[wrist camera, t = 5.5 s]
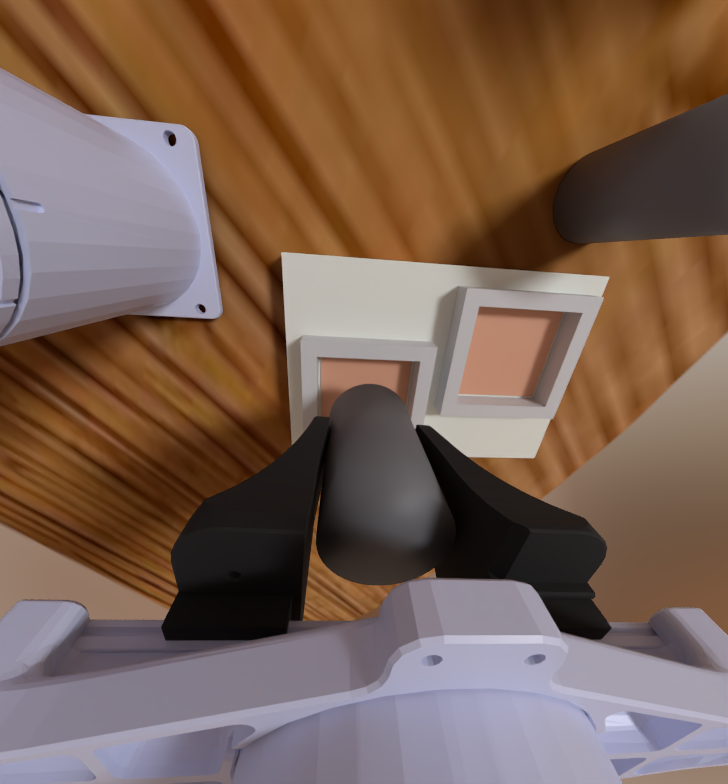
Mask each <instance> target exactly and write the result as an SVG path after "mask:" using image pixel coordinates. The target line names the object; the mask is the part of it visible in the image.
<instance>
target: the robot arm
mask: <svg viewBox="0 0 728 784" xmlns="http://www.w3.org/2000/svg"><path fill="white" fill-rule="evenodd" d="M171 134H175V137H176V144H175V146H170V144H169V141H168V139H169V136H170V135H171ZM200 304H202V305H203V306H205V308H206V312H205V313H204V312H202V311H200V309H199V305H200ZM222 313H223V307H222V300H221V294H220V287H219V280H218V273H217V266H216V260H215V253H214V246H213V239H212V233H211V226H210V219H209V212H208V205H207V199H206V192H205V185H204V178H203V171H202V165H201V158H200V151H199V144H198V141H197V138H196V136H195V135H194V133H193V132H191V131H190V130H189V129H188V128H187V127H185V126H183V125H179V124H170V123H161V122H152V121H143V120H134V119H124V118H115V117H106V116H97V115H88V114H83V113H81V112H79V111H78V110H76V109H74V108H72V107H70V106H69V105H67V104H65V103H63V102H61V101H59V100H58V99H56V98H54V97H52V96H50V95H49V94H47V93H45V92H43V91H41V90H40V89H38V88H36V87H34V86H32V85H30V84H29V83H27V82H25V81H23V80H21V79H20V78H18V77H16V76H14V75H12V74H11V73H9V72H7V71H5V70H3V69H1V68H0V346H4V345H8V344H12V343H16V342H20V341H24V340H28V339H32V338H36V337H40V336H44V335H48V334H52V333H55V332H59V331H63V330H67V329H71V328H75V327H79V326H83V325H87V324H91V323H95V322H99V321H103V320H107V319H110V318H114V317H118V316H122V315H126V314H131V315H149V316H167V317H186V318H204V319H216V318H218V317H220V316H221V315H222ZM329 419H330V417H322V416H316V417H314V418H313V420H312V422H311V423H310V425H309V426H308V427H307V429H306V430H305V431H304V432H303V434H302V435H301V436H300V437H299V438H298V440H297V441H296V442H295V443H294V444H293V445H292V446H291V447H290V448H289V449H288V450H287V451H286V452H285V453H284V454H282V455H281V456H280V457H279V458H278V459H276V460H275V461H274V462H273V463H271V464H270V465H269V466H267V467H266V468H265V469H263V470H262V471H260V472H259V473H257V474H256V475H254V476H252V477H251V478H249V479H247V480H245V481H243V482H242V483H240V484H238V485H236V486H234V487H232V488H230V489H227V490H225V491H223V492H221V493H218V494H216V495H214V496H212V497H209V498H207V499H205V500H204V501H203V502H202V504H201V505H200V506H199V508H198V509H197V510H196V511H195V513H194V514H193V515H192V517H191V518H190V519H189V521H188V523H187V524H186V526H185V528H184V529H183V531H182V533H181V534H180V536H179V537H178V539H177V541H176V542H175V544H174V546H173V549H172V551H171V563H172V567H173V571H174V575H175V579H176V583H177V587H178V591H179V592H178V594H177V596H176V598H175V600H174V602H173V604H172V606H171V608H170V610H169V612H168V614H167V616H166V618H165V620H90V618H89V614H88V611H87V609H86V607H85V606H84V605H82V604H81V603H78V602H76V601H70V600H22V601H18V602H17V603H16V604H15V605H14V606H13V607H12V608H11V609H10V610H9V611H8V612H7V613H6V614H5V616H4V617H3V618H2V619H1V620H0V784H623V783H622V781H621V780H620V779H623V778H630V777H635V776H643V775H649V774H655V773H662V772H669V771H677V770H684V769H693V768H701V767H710V766H722V765H728V636H727V635H726V634H725V633H724V632H723V631H722V630H721V629H720V628H719V627H718V626H717V625H716V624H715V623H714V622H713V621H712V620H711V619H710V618H709V617H708V616H707V615H706V614H705V613H704V612H703V611H702V610H701V609H699V608H691V607H689V608H688V607H669V608H664V609H661V610H659V611H657V612H656V613H654V614H653V615H652V616H651V618H650V619H649V621H648V623H646V622H644V623H643V622H642V623H641V622H640V623H639V622H637V623H636V622H633V623H632V622H607V620H606V619H605V618H604V616H603V615H602V614H601V612H600V611H599V609H598V608H597V606H596V605H595V604H594V602H593V601H592V600H591V599H593V598H594V597H595V592H594V591H593V590H592V588H591V587H590V586H589V584H588V583H587V582H588V581H589V579H590V578H591V577H592V575H593V574H594V573H595V572H596V570H597V569H598V568H599V566H600V565H601V563H602V562H603V560H604V559H605V556H606V551H607V546H606V542H605V541H604V539H603V538H602V537H601V536H600V535H599V534H598V533H597V532H596V530H595V529H594V528H593V527H592V526H591V525H590V524H589V523H588V522H587V520H586V519H584V518H583V517H581V516H578V515H575V514H573V513H570V512H568V511H565V510H562V509H560V508H558V507H555V506H552V505H550V504H548V503H545V502H544V501H541V500H539V499H537V498H535V497H533V496H531V495H528V494H526V493H524V492H522V491H520V490H519V489H517V488H515V487H513V486H511V485H509V484H508V483H506V482H504V481H502V480H501V479H499V478H497V477H496V476H494V475H493V474H491V473H489V472H488V471H486V470H485V469H483V468H482V467H480V466H479V465H478V464H476V463H475V462H473V461H472V460H471V459H469V458H468V457H467V456H466V455H464V454H463V453H462V452H460V451H459V450H458V449H457V448H456V447H454V446H453V445H452V444H451V443H450V442H449V441H447V440H446V439H445V438H444V437H443V436H442V435H440V434H439V433H438V432H437V431H436V430H434V429H433V428H432V427H431V426H429V425H416V429H415V430H416V433H417V435H418V437H419V440H420V442H421V444H422V447H423V449H424V451H425V453H426V456H427V458H428V460H429V463H430V465H431V467H432V470H433V472H434V474H435V476H436V479H437V481H438V483H439V486H440V488H441V490H442V492H443V495H444V497H445V499H446V502H447V504H448V506H449V509H450V511H451V513H452V515H453V518H454V521H455V525H456V535H455V540H454V543H453V546H452V548H451V550H450V551H449V553H448V554H447V556H446V557H445V558H444V559H443V560H442V562H440V563H439V564H438V565H437V566H436V567H435V572H436V578H422V579H415V580H408V581H406V582H404V583H402V584H400V585H398V586H396V587H394V588H393V589H392V590H391V592H390V593H389V594H388V596H387V597H386V598H385V600H384V601H383V602H382V605H381V609H380V613H379V616H378V617H373V618H368V619H362V620H357V621H303V613H304V604H305V596H306V587H307V578H308V569H309V561H310V552H311V543H312V535H313V526H314V520H315V515H316V510H317V505H318V501H319V496H320V491H321V487H322V480H323V471H324V462H325V453H326V446H327V439H328V430H329Z"/></svg>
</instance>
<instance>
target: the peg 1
mask: <svg viewBox="0 0 728 784" xmlns="http://www.w3.org/2000/svg"><path fill="white" fill-rule="evenodd" d="M329 417H330V419H329V430H328V439H327V446H326V453H325V462H324V471H323V480H322V489H321V498H320V507H319V516H318V526H317V535H316V546H317V551H318V554H319V556H320V558H321V560H322V561H323V563H324V564H325V565H326V566H327V567H328V568H329V569H330V570H331V571H332V572H334V573H335V574H337V575H338V576H340V577H342V578H344V579H347V580H349V581H352V582H356V583H360V584H366V585H391V584H397V583H402V582H406V581H408V580H412V579H415V578H417V577H419V576H421V575H423V574H425V573H427V572H429V571H430V570H432V569H433V568H434V567H436V566H437V565H438V564H439V563H440V562H442V560H443V559H444V558H445V557H446V556H447V554H448V553H449V551H450V550H451V548H452V546H453V543H454V540H455V535H456V525H455V521H454V518H453V515H452V513H451V511H450V509H449V506H448V504H447V502H446V499H445V497H444V495H443V492H442V490H441V488H440V486H439V483H438V481H437V479H436V476H435V474H434V472H433V470H432V467H431V465H430V463H429V460H428V458H427V456H426V453H425V451H424V449H423V447H422V444H421V442H420V440H419V437H418V435H417V433H416V430H415V428H414V426H413V424H412V421H411V419H410V417H409V414H408V412H407V410H406V408H405V405H404V403H403V401H402V400H401V398H400V397H399V396H398V395H397V394H396V393H395V392H394V391H392V390H391V389H389V388H387V387H385V386H382V385H377V384H362V385H357V386H354V387H352V388H350V389H348V390H346V391H345V392H343V393H342V394H341V395H340V396H339V397H338V398H337V399H336V401H335V402H334V404H333V406H332V408H331V411H330V416H329Z"/></svg>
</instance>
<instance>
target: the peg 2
mask: <svg viewBox="0 0 728 784" xmlns="http://www.w3.org/2000/svg"><path fill="white" fill-rule="evenodd" d="M553 219H554V224H555V227H556V229H557V231H558V233H559V234H560V235H561V237H563V238H564V239H565V240H567V241H569V242H571V243H576V244H585V243H601V242H617V241H632V240H648V239H664V238H680V237H696V236H712V235H728V94H726V95H724V96H722V97H719V98H717V99H715V100H712V101H710V102H708V103H705V104H703V105H701V106H698V107H696V108H694V109H691V110H689V111H687V112H685V113H682V114H680V115H678V116H675V117H673V118H671V119H668V120H666V121H664V122H661V123H659V124H657V125H654V126H652V127H650V128H647V129H645V130H643V131H640V132H638V133H636V134H634V135H631V136H629V137H627V138H624V139H622V140H620V141H617V142H615V143H613V144H610V145H608V146H606V147H603V148H601V149H599V150H596V151H594V152H592V153H590V154H588V155H586V156H585V157H583V158H582V159H580V160H579V161H578V162H577V163H576V164H575V165H574V166H573V167H572V168H571V169H570V170H569V171H568V173H567V174H566V176H565V177H564V179H563V180H562V182H561V184H560V186H559V188H558V191H557V193H556V197H555V201H554V206H553Z"/></svg>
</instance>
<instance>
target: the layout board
mask: <svg viewBox="0 0 728 784" xmlns="http://www.w3.org/2000/svg"><path fill="white" fill-rule="evenodd" d="M281 255H282V274H283V292H284V310H285V329H286V347H287V365H288V384H289V402H290V420H291V439H292V445H293V444H294V443H295V442H296V441H297V440H298V438H299V437H300V436H301V435H302V434H303V432H304V431H305V430H306V429H307V427H308V426H309V425H310V423H311V422H312V420H313V418H314V417H316V416H322V417H329V416H330V411H331V408H332V406H333V404H334V402H335V401H336V399H337V398H338V397H339V396H340V395H341V394H342V393H343V392H345V391H346V390H348V389H350V388H352V387H354V386H357V385H362V384H377V385H382V386H385V387H387V388H389V389H391V390H392V391H394V392H395V393H396V394H397V395H398V396H399V397H400V398H401V400H402V401H403V403H404V405H405V408H406V410H407V412H408V414H409V417H410V419H411V421H412V424H413V426H414V428H415V429H416V425H429V426H431V427H432V428H433V429H434V430H436V431H437V432H438V433H439V434H440V435H442V436H443V437H444V438H445V439H446V440H447V441H449V442H450V443H451V444H452V445H453V446H454V447H456V448H457V449H458V450H459V451H460V452H462V453H463V454H464V455H466V456H467V457H499V458H535V455H536V453H537V450H538V448H539V446H540V443H541V441H542V438H543V436H544V434H545V431H546V429H547V426H548V424H549V422H550V419H553V418H554V416H555V413H556V411H557V409H558V406H559V404H560V401H561V399H562V397H563V394H564V392H565V389H566V387H567V385H568V382H569V380H570V378H571V375H572V373H573V370H574V368H575V366H576V363H577V361H578V359H579V356H580V354H581V351H582V349H583V347H584V344H585V342H586V340H587V337H588V335H589V332H590V330H591V328H592V325H593V323H594V320H595V318H596V316H597V313H598V311H599V309H600V306H601V304H602V301H603V299H604V297H602V294H603V292H604V289H605V287H606V285H607V282H608V280H609V277H604V276H591V275H578V274H565V273H551V272H538V271H525V270H511V269H498V268H485V267H472V266H458V265H445V264H432V263H419V262H405V261H392V260H379V259H365V258H352V257H339V256H326V255H312V254H299V253H286V252H281Z"/></svg>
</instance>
